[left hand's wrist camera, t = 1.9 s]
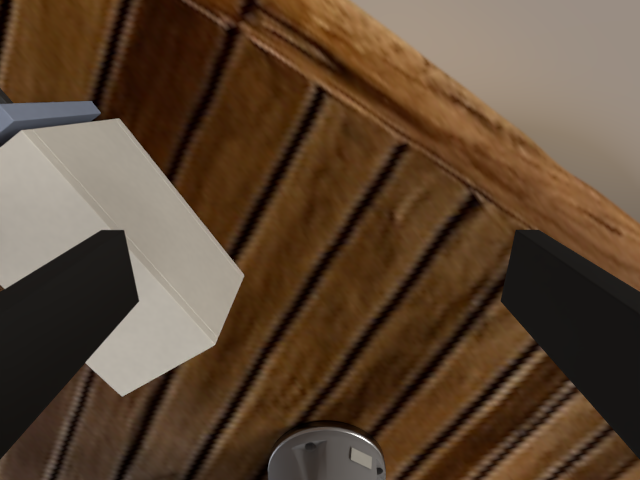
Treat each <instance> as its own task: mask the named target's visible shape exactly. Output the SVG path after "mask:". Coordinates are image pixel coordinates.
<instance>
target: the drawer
mask: <svg viewBox="0 0 640 480" xmlns="http://www.w3.org/2000/svg"><path fill="white" fill-rule="evenodd" d="M100 114H101V112H100V111H99V110H98V109H97V107H96V106H95V105H94V104H93V103H92V101H76V102H44V103H13V102H12V101H11V100H10V99H9V98H8V96H7V95H6V94H5V93H4V92H3V91H2V90H1V89H0V147H1V146H3V145H4V144H5V143H6V142H8V141H9V140H10V139H11V138H12V137H14V136H15V135H16V134H17V133H19V132H20V131H21V130H28V129H37V128H45V127H53V126H61V125H70V124H78V123H86V122H91V121H92V120H93V119H95V118H96V117H97V116H98V115H100Z"/></svg>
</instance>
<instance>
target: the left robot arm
mask: <svg viewBox="0 0 640 480" xmlns="http://www.w3.org/2000/svg"><path fill="white" fill-rule="evenodd" d="M138 302H139V298H138V293H137V288H136V283H135V279H134V274H133V269H132V265H131V260H130V255H129V250H128V246H127V241H126V236H125V231H124V230H100V231H99V232H97V233H95V234H94V235H92V236H91V237H89V238H87V239H86V240H84V241H82V242H81V243H79V244H78V245H76V246H74V247H73V248H71V249H69V250H68V251H66V252H64V253H63V254H61V255H60V256H58V257H56V258H55V259H53V260H51V261H50V262H48V263H47V264H45V265H43V266H42V267H40V268H38V269H37V270H35V271H33V272H32V273H30V274H29V275H27V276H25V277H24V278H22V279H20V280H19V281H17V282H16V283H14V284H12V285H11V286H9V287H7V288H6V289H4V290H2V291H1V292H0V459H1V458H2V457H3V456H4V454H5V453H6V452H7V451H8V450H9V449H10V448H11V446H12V445H13V444H14V443H15V442H16V441H17V440H18V439H19V437H20V436H21V435H22V434H23V433H24V432H25V431H26V429H27V428H28V427H29V426H30V425H31V424H32V423H33V421H34V420H35V419H36V418H37V417H38V416H39V415H40V414H41V412H42V411H43V410H44V409H45V408H46V407H47V406H48V404H49V403H50V402H51V401H52V400H53V399H54V398H55V396H56V395H57V394H58V393H59V392H60V391H61V390H62V389H63V387H64V386H65V385H66V384H67V383H68V382H69V381H70V379H71V378H72V377H73V376H74V375H75V374H76V373H77V371H78V370H79V369H80V368H81V367H82V366H83V365H84V364H85V362H86V361H87V360H88V359H89V358H90V357H91V356H92V354H93V353H94V352H95V351H96V350H97V349H98V348H99V346H100V345H101V344H102V343H103V342H104V341H105V340H106V339H107V337H108V336H109V335H110V334H111V333H112V332H113V331H114V329H115V328H116V327H117V326H118V325H119V324H120V323H121V321H122V320H123V319H124V318H125V317H126V316H127V315H128V313H129V312H130V311H131V310H132V309H133V308H134V307H135V306H136V304H137V303H138ZM501 302H502V303H503V304H504V306H505V307H506V308H507V309H508V310H509V311H510V312H511V313H512V315H513V316H514V317H515V318H516V319H517V320H518V321H519V323H520V324H521V325H522V326H523V327H524V328H525V329H526V331H527V332H528V333H529V334H530V335H531V336H532V337H533V339H534V340H535V341H536V342H537V343H538V344H539V345H540V346H541V348H542V349H543V350H544V351H545V352H546V353H547V354H548V356H549V357H550V358H551V359H552V360H553V361H554V362H555V364H556V365H557V366H558V367H559V368H560V369H561V370H562V371H563V373H564V374H565V375H566V376H567V377H568V378H569V379H570V381H571V382H572V383H573V384H574V385H575V386H576V387H577V389H578V390H579V391H580V392H581V393H582V394H583V395H584V396H585V398H586V399H587V400H588V401H589V402H590V403H591V404H592V406H593V407H594V408H595V409H596V410H597V411H598V412H599V414H600V415H601V416H602V417H603V418H604V419H605V420H606V421H607V423H608V424H609V425H610V426H611V427H612V428H613V429H614V431H615V432H616V433H617V434H618V435H619V436H620V437H621V439H622V440H623V441H624V442H625V443H626V444H627V445H628V446H629V448H630V449H631V450H632V451H633V452H634V453H635V454H636V456H637V457H638V458H639V459H640V292H639V291H638V290H636V289H634V288H633V287H631V286H629V285H628V284H626V283H624V282H623V281H621V280H620V279H618V278H616V277H615V276H613V275H611V274H610V273H608V272H607V271H605V270H603V269H602V268H600V267H598V266H597V265H595V264H593V263H592V262H590V261H589V260H587V259H585V258H584V257H582V256H580V255H579V254H577V253H576V252H574V251H572V250H571V249H569V248H567V247H566V246H564V245H562V244H561V243H559V242H558V241H556V240H554V239H553V238H551V237H549V236H548V235H546V234H545V233H543V232H541V231H540V230H516V231H515V236H514V241H513V246H512V250H511V255H510V260H509V265H508V269H507V274H506V279H505V283H504V288H503V293H502V298H501ZM385 479H386V473H385V462H384V456H383V452H382V450H381V447H380V446H379V444H378V443H377V441H376V440H375V439H374V438H373V437H372V436H371V435H369V434H368V433H367V432H365V431H363V430H362V429H360V428H357V427H355V426H352V425H349V424H345V423H341V422H333V421H321V422H313V423H308V424H304V425H301V426H299V427H296V428H294V429H292V430H290V431H289V432H287V433H286V434H284V435H283V436H282V437H281V438H280V439H279V440H278V441H277V442H276V443H275V445H274V446H273V448H272V450H271V453H270V458H269V465H268V480H385Z"/></svg>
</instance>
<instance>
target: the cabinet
mask: <svg viewBox="0 0 640 480" xmlns="http://www.w3.org/2000/svg"><path fill="white" fill-rule="evenodd" d="M100 230H124V231H125V236H126V241H127V246H128V250H129V255H130V260H131V265H132V269H133V274H134V279H135V283H136V288H137V293H138V298H139V302H138V303H137V304H136V306H135V307H134V308H133V309H132V310H131V311H130V312H129V313H128V315H127V316H126V317H125V318H124V319H123V320H122V321H121V323H120V324H119V325H118V326H117V327H116V328H115V329H114V331H113V332H112V333H111V334H110V335H109V336H108V337H107V339H106V340H105V341H104V342H103V343H102V344H101V345H100V346H99V348H98V349H97V350H96V351H95V352H94V353H93V354H92V356H91V357H90V358H89V359H88V360H87V361H86V362H85V363H86V364H87V365H88V366H89V367H90V368H91V369H92V370H94V371H95V372H96V373H97V374H98V375H99V376H100V377H101V378H102V379H103V380H104V381H106V382H107V383H108V384H109V385H110V386H111V387H112V388H113V389H114V390H115V391H116V392H118V393H119V394H120V395H121V396H124V395H126V394H128V393H130V392H131V391H133V390H135V389H137V388H139V387H140V386H142V385H144V384H146V383H147V382H149V381H151V380H153V379H155V378H156V377H158V376H160V375H162V374H164V373H165V372H167V371H169V370H171V369H173V368H174V367H176V366H178V365H180V364H182V363H183V362H185V361H187V360H189V359H191V358H192V357H194V356H196V355H198V354H200V353H201V352H203V351H205V350H207V349H209V348H210V347H212V346H214V345H215V344H216V342H217V339H218V337H219V334H220V332H221V329H222V327H223V325H224V322H225V320H226V318H227V315H228V313H229V311H230V308H231V306H232V303H233V301H234V299H235V296H236V294H237V292H238V289H239V287H240V284H241V282H242V280H243V277H244V274H243V273H242V272H241V270H240V269H239V268H238V267H237V265H236V264H235V263H234V261H233V260H232V259H231V258H230V256H229V255H228V254H227V253H226V251H225V250H224V249H223V248H222V246H221V245H220V244H219V243H218V241H217V240H216V239H215V238H214V236H213V235H212V234H211V233H210V231H209V230H208V229H207V228H206V226H205V225H204V224H203V223H202V221H201V220H200V219H199V218H198V216H197V215H196V214H195V213H194V211H193V210H192V209H191V208H190V206H189V205H188V204H187V203H186V201H185V200H184V199H183V197H182V196H181V195H180V194H179V192H178V191H177V190H176V189H175V187H174V186H173V185H172V184H171V182H170V181H169V180H168V179H167V177H166V176H165V175H164V174H163V172H162V171H161V170H160V169H159V167H158V166H157V165H156V164H155V162H154V161H153V160H152V159H151V157H150V156H149V155H148V154H147V152H146V151H145V150H144V149H143V147H142V146H141V145H140V144H139V142H138V141H137V140H136V139H135V137H134V136H133V135H132V134H131V132H130V131H129V130H128V128H127V127H126V126H125V125H124V123H123V122H122V121H121V120H120V119H119V118H118V119H110V120H102V121H94V122H86V123H78V124H70V125H61V126H53V127H45V128H37V129H28V130H21V131H20V132H19V133H17V134H16V135H15V136H14V137H12V138H11V139H10V140H9V141H8V142H6V143H5V144H4V145H3V146H1V147H0V285H1V286H2V287H3V288H4V289H6V288H7V287H9V286H11V285H12V284H14V283H16V282H17V281H19V280H20V279H22V278H24V277H25V276H27V275H29V274H30V273H32V272H33V271H35V270H37V269H38V268H40V267H42V266H43V265H45V264H47V263H48V262H50V261H51V260H53V259H55V258H56V257H58V256H60V255H61V254H63V253H64V252H66V251H68V250H69V249H71V248H73V247H74V246H76V245H78V244H79V243H81V242H82V241H84V240H86V239H87V238H89V237H91V236H92V235H94V234H95V233H97V232H99V231H100Z"/></svg>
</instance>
